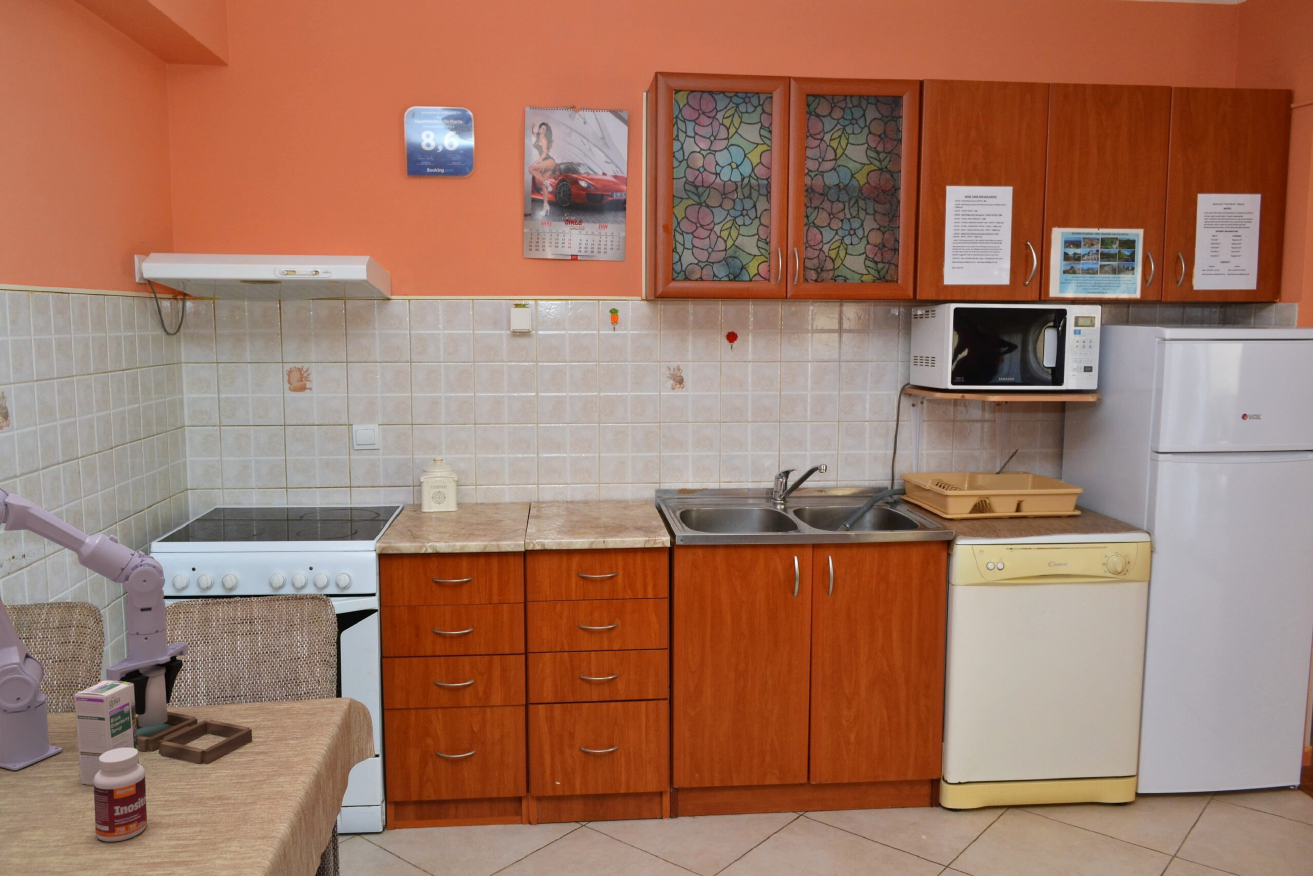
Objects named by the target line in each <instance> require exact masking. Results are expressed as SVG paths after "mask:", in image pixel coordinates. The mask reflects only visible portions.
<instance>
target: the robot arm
mask: <svg viewBox="0 0 1313 876" xmlns="http://www.w3.org/2000/svg"><path fill="white" fill-rule="evenodd" d="M2 524H5V526H4V529H3V532H9V531H10V532H12V531H13V532H14V531H23V530H27V531H30V532H31V533H34V534H36V535H38V536H40V537H42V538H45V539H47V540H49V541H51V542H53V543H56V544H57V545H59V546H62V547H63V548H65V549H67V550H70V551H72V552H74V553H76V554H77V560H78V563H79V564H80V565H81V566H82V567H85V568H86V569H88V570H91V571H93V572H94V573H96V574H98V575H100V576H103V578H106V579H108V580H110V581H112V582H114V583H117V584H123V587H124V590H125V591H126V592H127V604H126V621H127V622H126V623H127V638H128V639H127V640H128V655H129V656H127V657H125V658H124V659H122V660H120V661H119V662H117V663H115V664H114V665H111V666H108V667H106V668H105V673H106V674H105V676H106V681H124V682H130V683H133V684H134V697H135V712H136V715H137V716H138V715H142V714H145V693H146V686H147V682H148V679H149V676H145V675H142V673H140V670H142V669H145V668H148V667H151V666H164V667H165V670H166V672H165V673H164V674H165V689H166V703H167V705H169V704H170V703H171V699H172V693H173V689H174V685H175V682H176V680H177V677H178V675H179V674H180V671H181V669H182V668H183V664H184V663H183V660H182V659H178V658H177V657H180V656H187V655H188V654H189V643H187V642H181V641H180V642H176V643H173V644H169V645H168V635H167V633H168V632H167V617H166V613H167V611H166V601H165V600H164V598H165V591H164V589H163V588H164V587H165V584H166V578H165V576H164V569H163V566H162V564H161V563H160V562H159V561H158V560H157V559H155V557H154V556H152V555H151V556H150V555H146V554H145V553H146V552H143V551H141V550H139V551H138V552H137V551H135V550H133V549H131V548H130V547H128V546H126V545H124V544H122V543H121V542H120V541H119V537H118V536H116V535H114V534H112V533H111V534H110V535H109V536H108V535H106V534H103V533H99V534H93V535H89V534H87V533H85V532H83V531H82V530H80V529H78V528H77V527H75V526H74V525H72V524H70V523H68V522H67V521H64V520H63V519H62V518H59V517H58V516H57V515H54V514H53V513H51V512H50V511H48V510H46V509H44V508H43V507H41V506H39V505H37V504H35V503H33V502H32V501H30V500H28V499H27V498H24V497H23V496H21V495H18V494H16V493H13V492H10V493H9V492H8V491H6V490H5V489H4V488H3V487H0V526H1V525H2ZM118 541H119V542H118ZM44 676H45V669H44V665H43V664H42V662H41V661H40V660H39V659H37V658H36V657H35V656H33V655H32V654H31V653H30V651H29V650H28V647H27V645H26V644H25V643H24V642H23V641H22V640H21V639H20V637H19V634H18V632H17V631H16V628H15V627H14V624H13V622H12V619H11V617H10V615H9V612H8V609H7V608H6V606H5V604H4V602H3V600H2V597H1V596H0V768H3V769H7V770H12V771H18V770H20V769H23V768H25V767H27V766H28V767H29V766H31V765H33V764H36V763H37V762H39V761H43V760H44V759H47V758H49V757H52V756H53V755H56V754H59V753H60V752H63V747H61V746H60V747H59V746H55V745H51V744H50V737H49V736H50V735H49V722H48V705H47V704H48V703H47V695H46V694H45V693H44V692H42V691H41V688H40V686H41V683H42V682H43V678H44Z"/></svg>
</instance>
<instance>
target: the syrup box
mask: <svg viewBox="0 0 1313 876" xmlns="http://www.w3.org/2000/svg"><path fill="white" fill-rule="evenodd" d="M73 696H74V697H73V698H74V706H75V707H74V708H75V709H74V710H75V720H76V734H77V748H78V749H77V750H78V759H79V760H78V761H79V775H80V782H81V785H87V786H93V787H94V777H95V775H96V774H97V773H98V772H99V771H100V770H101V769H100V768H99V757H100V756H101V755H102V754H103V753H105V752H107V751H110V750H113V749H117V748H135V749H137V750H138V742H137V727H136V717H137V716H136V715H137V714H136V712H135V697H134V684H133V683H130V682H124V681H111V680H102V681H100V682H99V683H96V684H94V685H92V686H89V687H87V688H86V689H83V690H82V691H77V692H76V693H75V694H73ZM138 757H139V755H138ZM138 764H140V758H139V759H138Z"/></svg>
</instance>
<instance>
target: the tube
mask: <svg viewBox="0 0 1313 876" xmlns="http://www.w3.org/2000/svg"><path fill="white" fill-rule="evenodd" d="M165 672H166V670H165V667H164V666H151V667H148V668H145V669H142V670H140V673H142V675H145V676H149V679H148V682H147V686H146V693H145V714H142V715H138V714H137V716H138V725H139V726H141V727H152V726H157V725H160V724H163V723H165V722H166V721H167V720H168V718H167V711H168V709H167V708H168V706H167V705H168V704H167V703H166V689H165V674H164V673H165Z"/></svg>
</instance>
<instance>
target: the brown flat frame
mask: <svg viewBox="0 0 1313 876" xmlns="http://www.w3.org/2000/svg"><path fill="white" fill-rule="evenodd" d="M167 718H168V720H167V721H166V722H165V723H163V724H160V725H157V726H152V727H141V726H139V725H138V715H137V716H136V727H137V742H138V752H144V753H145V752H151V751H152V752H153V751H157V750H158V753H159V754H160V753H161V754H160V756H161V755H162V757H167V758H171V759H176V760H180V761H185V762H188V763H189V762H190V763H195V764H199V765H201V764H206V765H207V764H210V763H212V762H214V761H216V760H218V759H220V758H221V757H224V756H225V754H226V755H227V753H228V754H229V752H230V753H232V752H234V751H235V750H237V749H239V748H241V747H243V746H245V745H247V744H249V743H250V742H253V730H252V728H250V727H249V726H244V725H239V724H235V723H234V724H233V723H228V722H223V721H218V720H213V719H210V720H207V719H206V720H205V719H204V720H202V721H200V722H198V718H196V716H192V715H189V714H183V713H177V712H171V711H168V710H167ZM206 734H209V735H212V736H213V735H214V736H218V737H223V738H224V737H225V739H223V740H222V741H219V742H217V743H215V744H213V745H211V746H209V747H207V748H201V747H200V748H199V747H195V746H192V745H191V746H190V745H186V744H188V743H190V742H192V741H194V740H196V739H198V738H200V737H203V736H204V735H206ZM240 746H241V747H240ZM238 747H239V748H238Z"/></svg>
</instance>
